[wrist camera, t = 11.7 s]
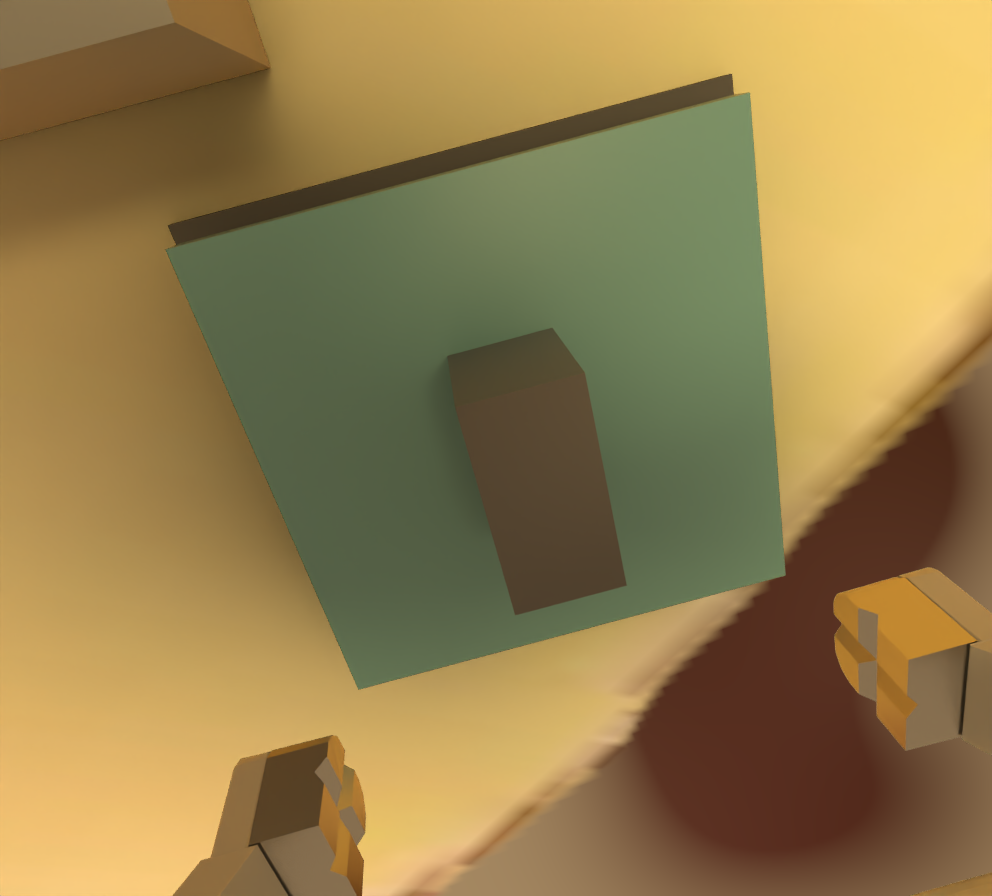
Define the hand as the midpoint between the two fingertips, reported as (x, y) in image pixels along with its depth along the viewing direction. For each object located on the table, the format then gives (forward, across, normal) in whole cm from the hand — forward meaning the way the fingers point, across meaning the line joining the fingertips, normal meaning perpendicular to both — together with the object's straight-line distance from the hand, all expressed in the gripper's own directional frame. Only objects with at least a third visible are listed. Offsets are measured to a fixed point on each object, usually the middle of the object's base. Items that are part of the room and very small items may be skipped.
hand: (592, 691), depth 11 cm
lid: (+12, -1, 0) cm, 12 cm away
